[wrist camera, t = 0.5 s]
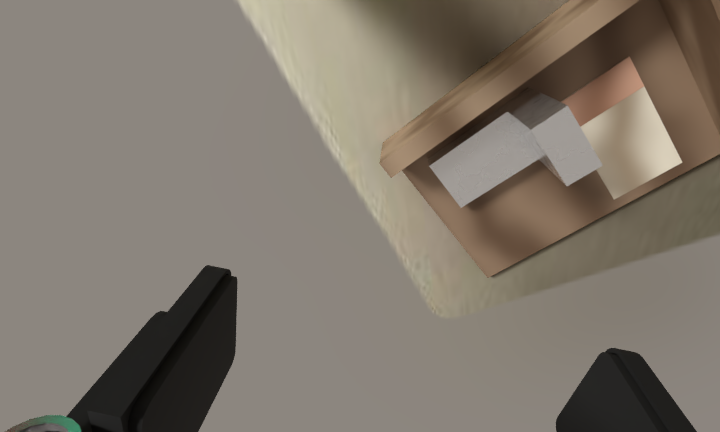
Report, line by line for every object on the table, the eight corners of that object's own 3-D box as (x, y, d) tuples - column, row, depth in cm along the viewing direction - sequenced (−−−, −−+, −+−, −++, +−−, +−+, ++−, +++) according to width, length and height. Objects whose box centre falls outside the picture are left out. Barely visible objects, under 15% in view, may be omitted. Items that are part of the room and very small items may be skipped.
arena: (650, -62, 26) (714, -85, 21) (737, 136, 32) (804, 158, 26) (382, 142, 35) (379, 163, 30) (485, 272, 40) (498, 309, 35)
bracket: (529, 87, 31) (567, 105, 24) (558, 134, 32) (602, 165, 25) (427, 159, 34) (434, 193, 27) (457, 198, 36) (472, 241, 29)
